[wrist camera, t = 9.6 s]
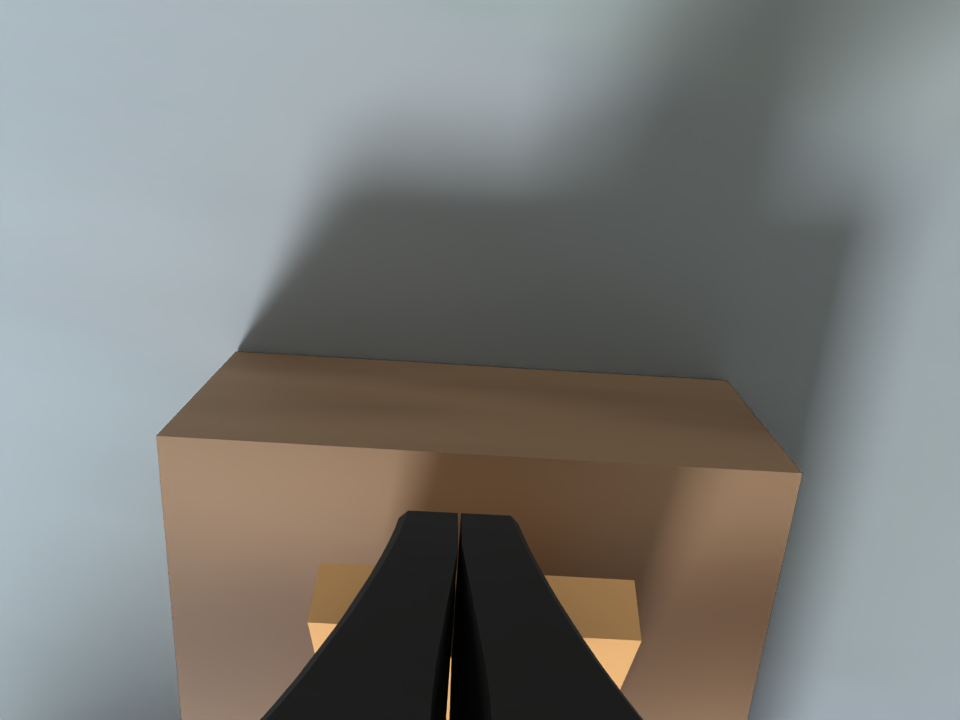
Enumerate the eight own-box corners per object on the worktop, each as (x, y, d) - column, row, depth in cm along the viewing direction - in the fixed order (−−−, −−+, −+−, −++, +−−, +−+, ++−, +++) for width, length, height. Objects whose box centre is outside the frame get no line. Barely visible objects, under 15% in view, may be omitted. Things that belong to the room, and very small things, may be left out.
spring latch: (577, 730, 14) (579, 780, 13) (348, 718, 13) (340, 767, 13) (634, 580, 10) (641, 641, 9) (319, 562, 10) (307, 622, 9)
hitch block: (644, 846, 20) (679, 1020, 16) (259, 825, 20) (206, 997, 16) (726, 380, 16) (802, 473, 12) (235, 351, 16) (156, 435, 12)
